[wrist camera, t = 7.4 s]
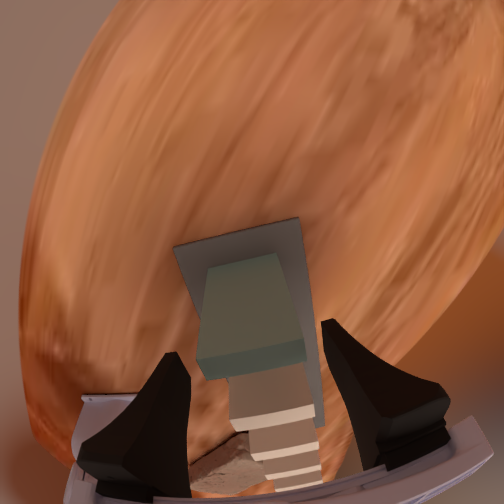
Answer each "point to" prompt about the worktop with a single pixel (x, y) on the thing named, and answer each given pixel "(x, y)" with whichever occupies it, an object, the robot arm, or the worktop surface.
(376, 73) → the worktop surface
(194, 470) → the brick
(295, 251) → the mat
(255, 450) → the ivory domino
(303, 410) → the ivory domino
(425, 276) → the worktop surface
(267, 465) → the ivory domino
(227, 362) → the teal domino
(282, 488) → the ivory domino
